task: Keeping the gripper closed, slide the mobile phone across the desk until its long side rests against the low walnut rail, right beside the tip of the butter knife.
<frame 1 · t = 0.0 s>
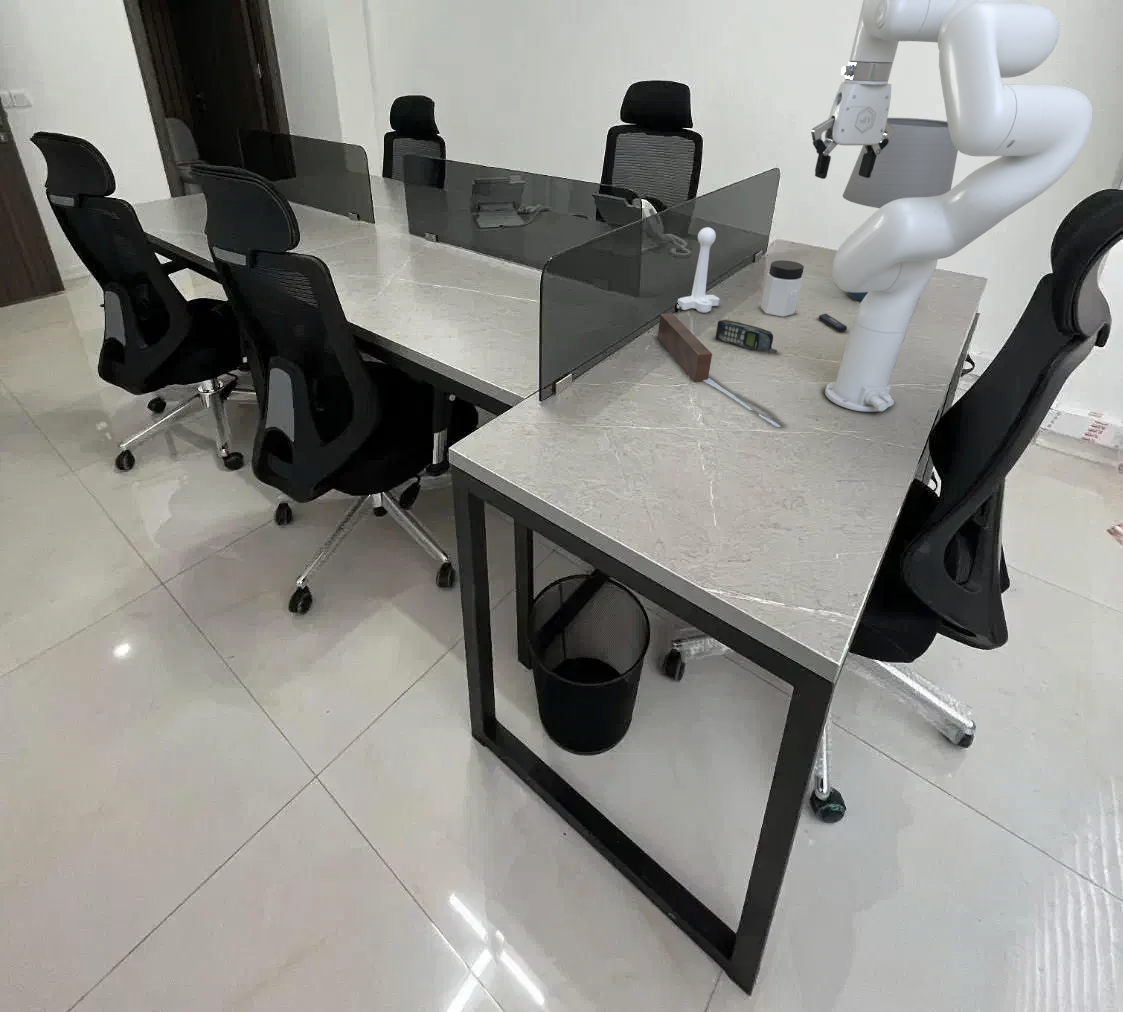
hand: (842, 177, 130), 37 cm above the table, tool pointing down, fingers open, 9 cm apart
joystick: (699, 309, 174), on the table
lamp: (864, 298, 184), on the table
mobile phone: (745, 347, 154), on the table
jar: (777, 311, 174), on the table
desk rail: (681, 358, 147), on the table
usb stick: (831, 326, 166), on the table
butter knife: (734, 398, 133), on the table
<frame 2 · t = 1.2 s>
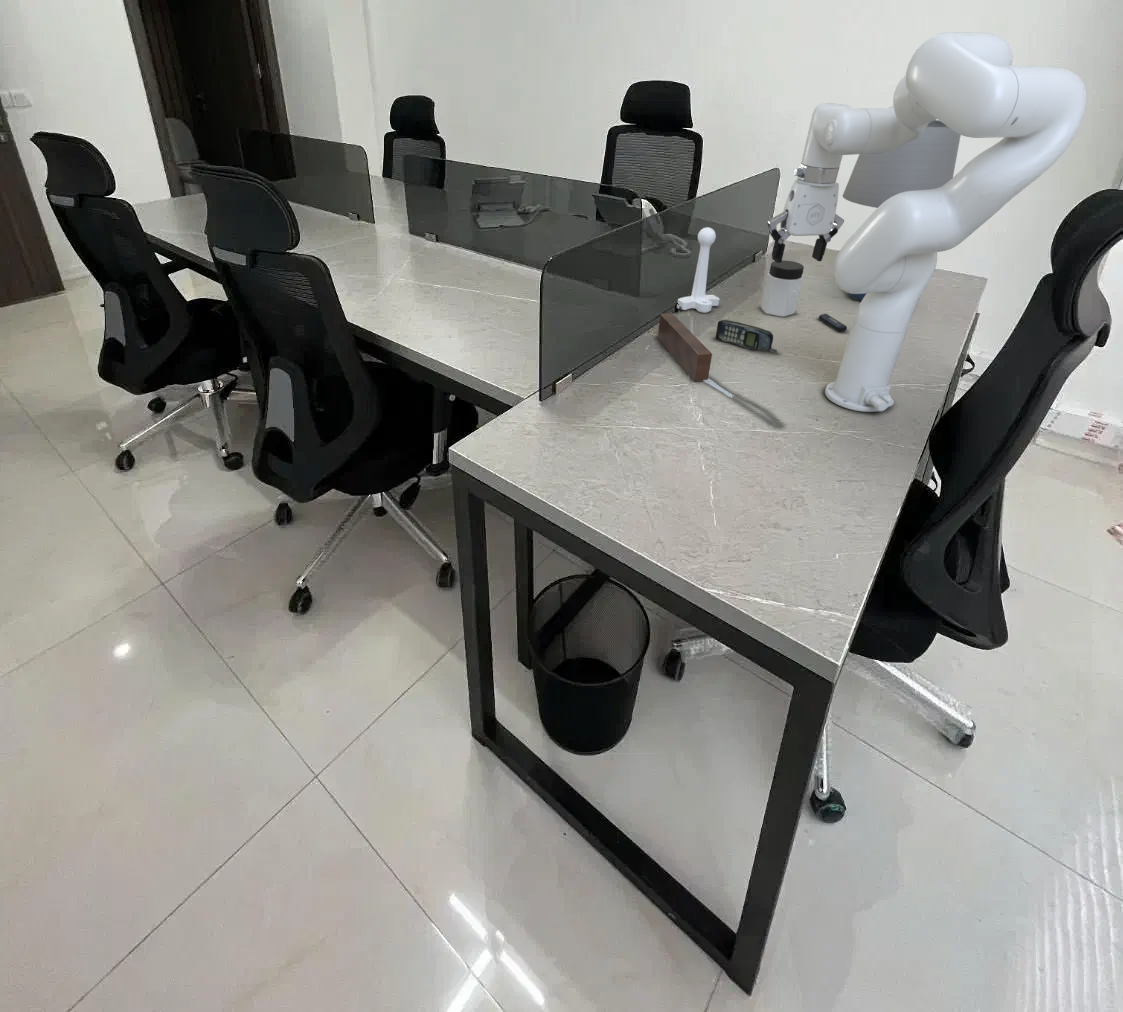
hand: (796, 260, 144), 19 cm above the table, tool pointing down, fingers open, 9 cm apart
nothing on the table moved.
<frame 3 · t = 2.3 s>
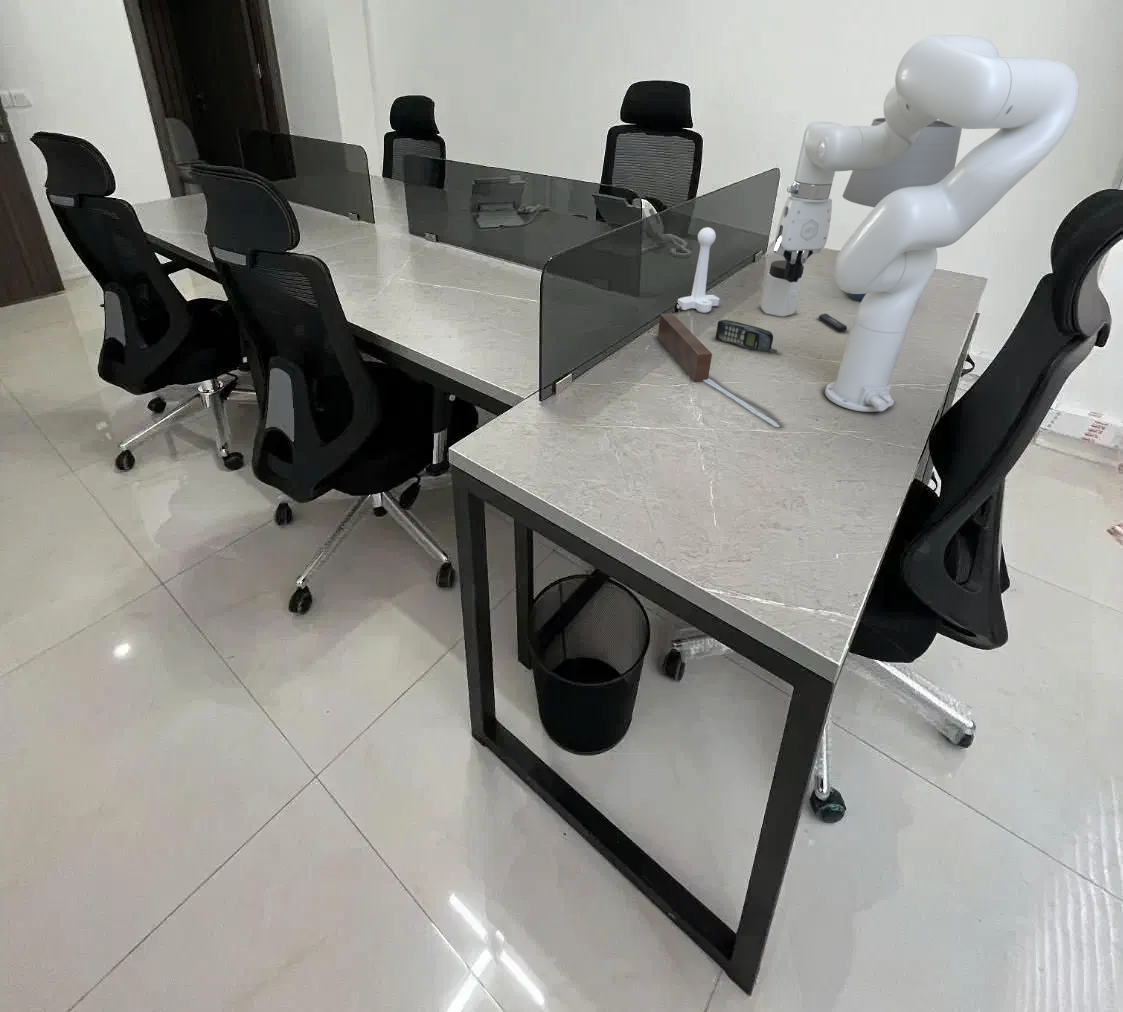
hand: (790, 280, 146), 15 cm above the table, tool pointing down, fingers closed
nothing on the table moved.
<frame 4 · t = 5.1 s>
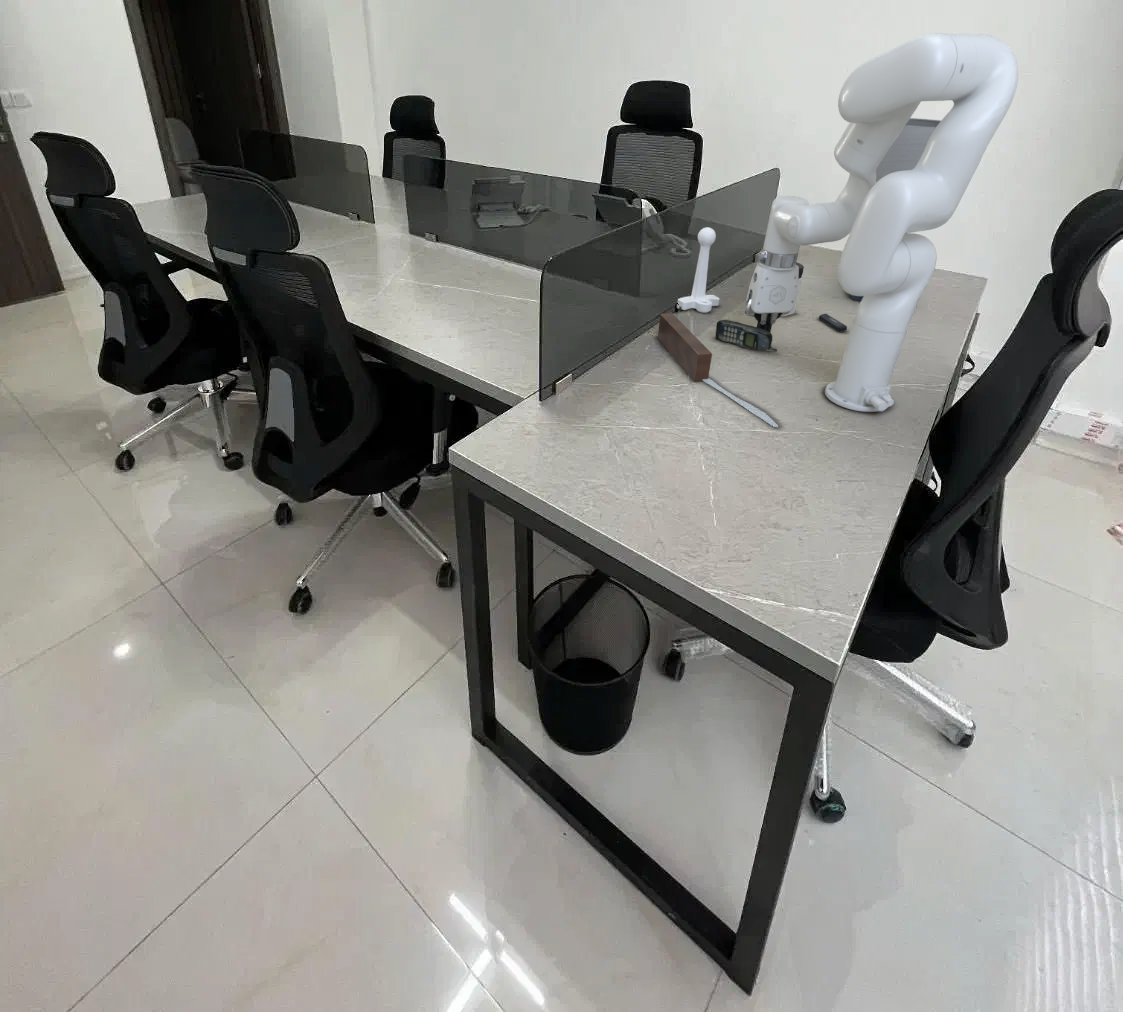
hand: (761, 338, 154), 1 cm above the table, tool pointing down, fingers closed
mobile phone: (745, 346, 154), on the table, touching gripper
butter knife: (732, 398, 132), on the table, touching desk rail
everything else where it was.
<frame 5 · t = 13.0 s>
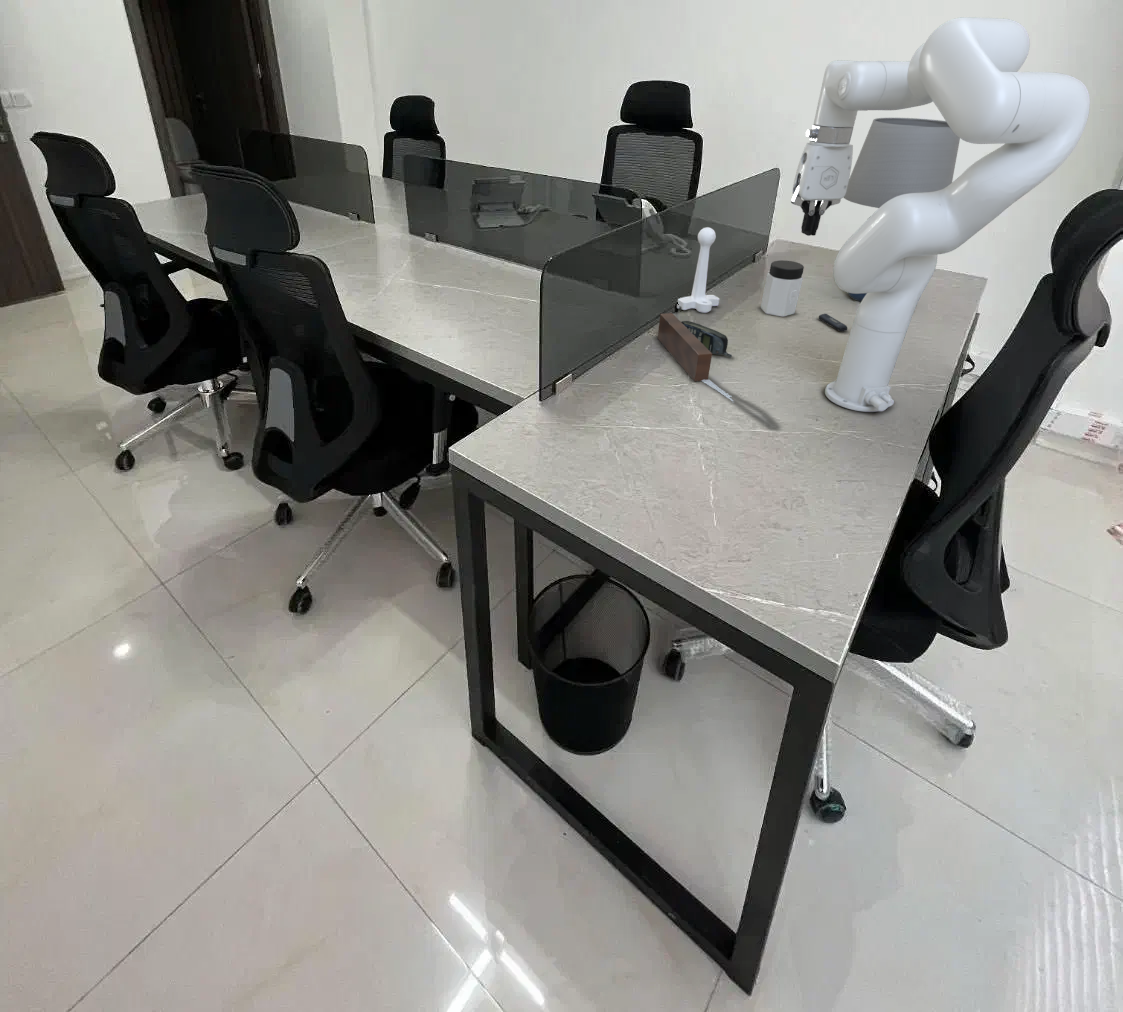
hand: (808, 233, 140), 25 cm above the table, tool pointing down, fingers closed
mobile phone: (703, 349, 152), on the table
butter knife: (731, 399, 132), on the table
everything else where it was.
at the end: mobile phone 1.4 cm from the target spot, on the table; mobile phone 24.7 cm from the butter knife (horizontally); mobile phone tilted 0° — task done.
